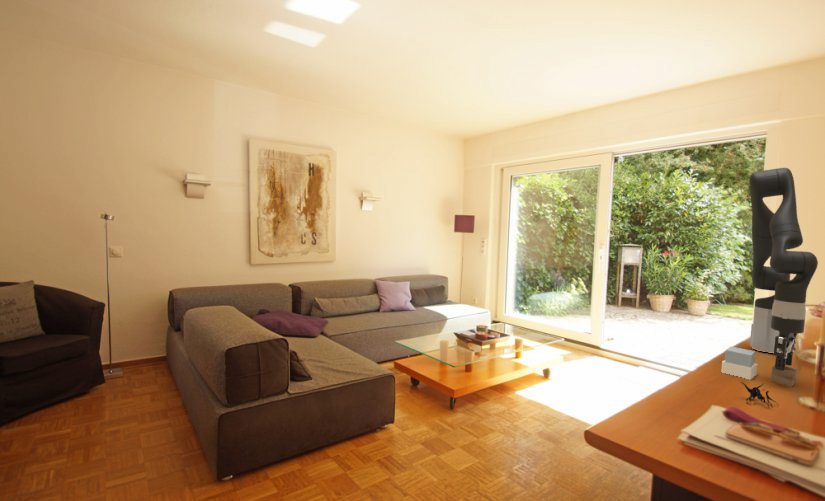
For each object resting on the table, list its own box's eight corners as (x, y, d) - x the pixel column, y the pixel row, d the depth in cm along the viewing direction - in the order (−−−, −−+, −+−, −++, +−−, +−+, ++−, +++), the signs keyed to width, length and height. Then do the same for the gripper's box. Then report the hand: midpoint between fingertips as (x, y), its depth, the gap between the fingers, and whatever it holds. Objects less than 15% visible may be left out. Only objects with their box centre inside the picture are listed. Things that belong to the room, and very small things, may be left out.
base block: (728, 368, 137) (729, 357, 136) (756, 375, 131) (757, 363, 130) (721, 373, 132) (722, 361, 132) (750, 380, 126) (751, 368, 126)
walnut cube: (775, 378, 128) (776, 364, 128) (795, 383, 124) (796, 368, 124) (771, 382, 125) (772, 367, 125) (791, 387, 121) (793, 371, 121)
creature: (785, 414, 105) (763, 395, 113) (791, 397, 104) (768, 379, 111) (753, 412, 106) (733, 393, 114) (758, 395, 105) (737, 377, 112)
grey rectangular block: (729, 358, 136) (730, 346, 135) (754, 363, 131) (755, 351, 130) (724, 361, 132) (725, 350, 131) (750, 367, 127) (751, 355, 126)
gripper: (777, 311, 130) (773, 359, 131) (765, 315, 122) (761, 367, 123) (809, 315, 124) (805, 366, 125) (799, 320, 116) (794, 375, 117)
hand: (783, 367), depth 124 cm, fingers open, 8 cm apart
